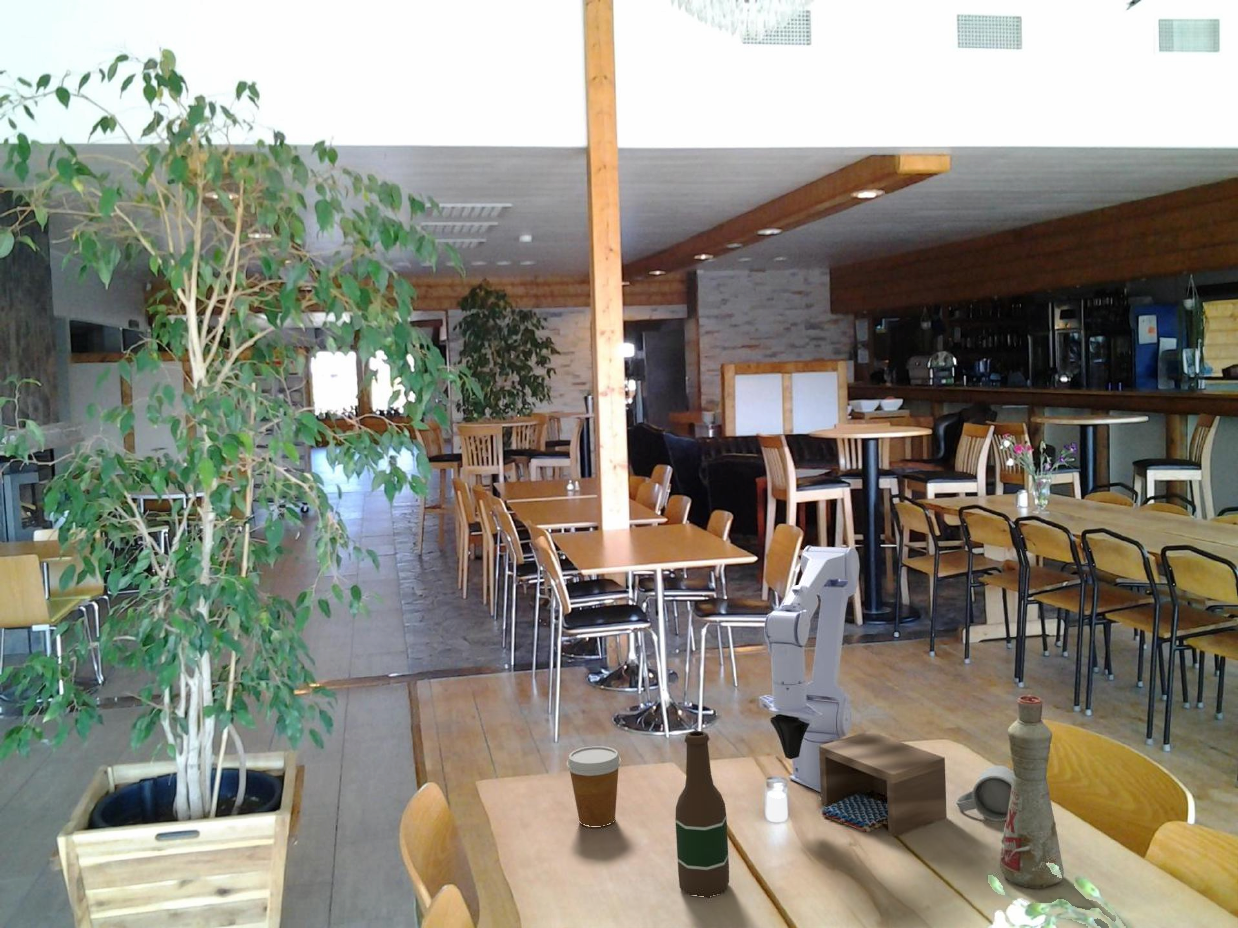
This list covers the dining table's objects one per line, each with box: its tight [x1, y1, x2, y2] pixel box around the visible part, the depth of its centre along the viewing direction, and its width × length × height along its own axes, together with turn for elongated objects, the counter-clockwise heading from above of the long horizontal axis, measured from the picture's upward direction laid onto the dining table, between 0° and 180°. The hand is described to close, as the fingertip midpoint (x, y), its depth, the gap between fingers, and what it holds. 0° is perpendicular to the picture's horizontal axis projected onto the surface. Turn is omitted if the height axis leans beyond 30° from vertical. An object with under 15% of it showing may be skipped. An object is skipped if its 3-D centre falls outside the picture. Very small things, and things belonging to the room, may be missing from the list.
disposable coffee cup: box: [566, 745, 622, 826], centre depth 202 cm, size 10×10×12 cm
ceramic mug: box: [956, 765, 1014, 822], centre depth 197 cm, size 11×8×8 cm
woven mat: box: [821, 793, 888, 833], centre depth 198 cm, size 10×11×2 cm
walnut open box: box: [819, 730, 948, 837], centre depth 199 cm, size 18×12×10 cm, turn 32°
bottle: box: [998, 694, 1065, 889], centre depth 171 cm, size 9×9×28 cm
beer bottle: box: [674, 730, 730, 898], centre depth 174 cm, size 8×8×24 cm
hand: (792, 756), depth 199 cm, fingers closed
